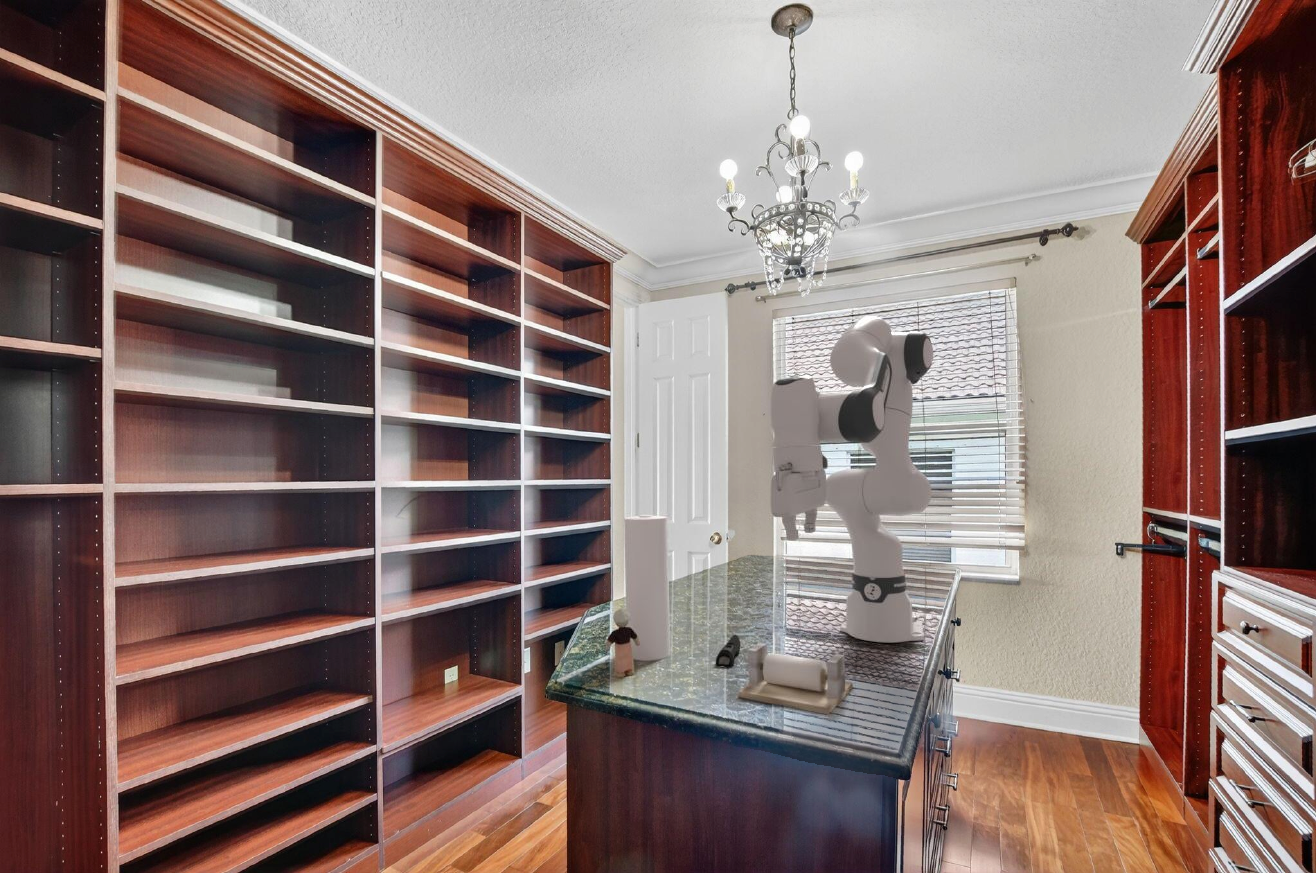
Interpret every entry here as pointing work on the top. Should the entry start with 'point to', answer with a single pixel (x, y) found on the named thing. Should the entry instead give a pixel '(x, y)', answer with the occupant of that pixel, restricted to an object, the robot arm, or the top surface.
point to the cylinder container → (648, 585)
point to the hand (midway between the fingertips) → (801, 536)
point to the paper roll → (795, 672)
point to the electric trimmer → (728, 652)
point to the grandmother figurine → (622, 644)
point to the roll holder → (795, 696)
